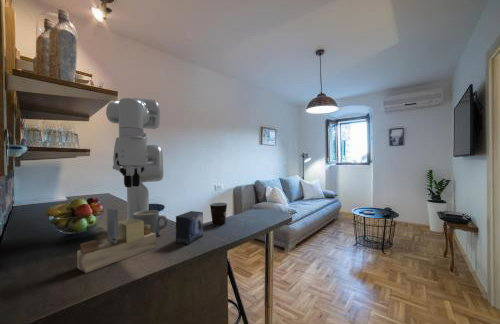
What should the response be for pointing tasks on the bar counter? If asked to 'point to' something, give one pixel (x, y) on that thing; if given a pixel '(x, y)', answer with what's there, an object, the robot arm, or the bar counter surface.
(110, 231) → the lever
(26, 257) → the bar counter surface
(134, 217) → the coffee mug
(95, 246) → the wooden block plane
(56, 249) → the bar counter surface
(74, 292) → the bar counter surface
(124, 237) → the olive cube-like block
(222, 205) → the coffee mug
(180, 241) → the small box
